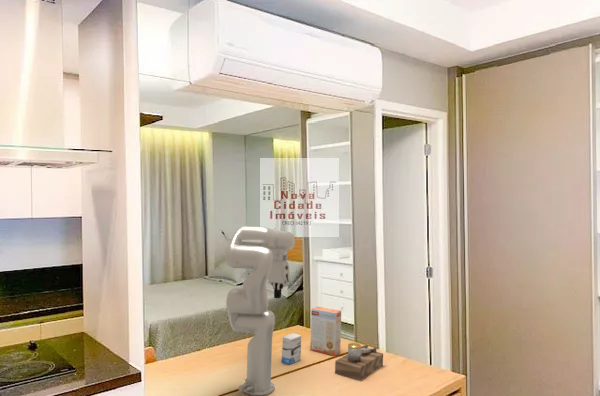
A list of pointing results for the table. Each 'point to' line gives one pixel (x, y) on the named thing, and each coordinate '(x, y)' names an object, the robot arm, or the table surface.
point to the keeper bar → (366, 350)
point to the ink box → (291, 348)
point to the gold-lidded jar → (354, 352)
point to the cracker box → (325, 330)
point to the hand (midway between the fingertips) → (277, 297)
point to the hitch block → (359, 365)
